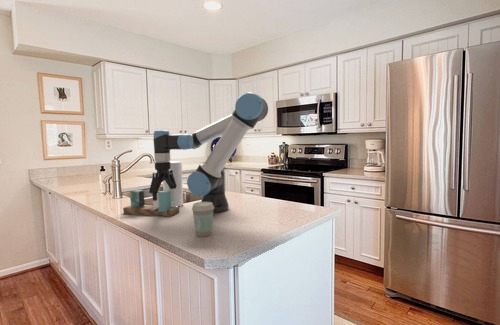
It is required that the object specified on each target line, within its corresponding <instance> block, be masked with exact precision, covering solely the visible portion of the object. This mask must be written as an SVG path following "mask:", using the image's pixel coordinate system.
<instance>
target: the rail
mask: <svg viewBox="0 0 500 325" xmlns="http://www.w3.org/2000/svg"><path fill="white" fill-rule="evenodd" d="M129 196H130V205H128V206H125V207H123V208H122V209H123V210H122V211H123V212H122V213H123V214H124V215H138V214H140V215H139V216H142V215H143V216H155V215H163V216H162V217H171V216H172V217H174V216H175V214H176V215H178V214H179V213H180V207H173V208H171V209H168V210H167V212H158V207H153V205H145V192H144V189H134V190H133V189H132V190H130V191H129ZM177 213H178V214H177ZM173 215H174V216H173Z"/></svg>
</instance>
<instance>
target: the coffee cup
mask: <svg viewBox="0 0 500 325" xmlns="http://www.w3.org/2000/svg"><path fill="white" fill-rule="evenodd" d="M213 209H214V206H213V203H212V202H201V201H199V202H193V204H192V206H191V210H192V215H193V222H194V228H195V234H196V236H197V237H202V238H203V237H210V236H211V235H212V232H213V219H214V213H213Z"/></svg>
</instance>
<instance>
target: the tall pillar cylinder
mask: <svg viewBox="0 0 500 325" xmlns="http://www.w3.org/2000/svg"><path fill="white" fill-rule="evenodd" d="M169 162H170V164H171V169H169V170H172V171H173V176H174V179H175V182H176V185H177V186H176V188H174V201H171V207H176V206H180V207H182V206H181V205H183V206H184V191H183V188H184V186H183V164H182V163H183V162H182V161H174V160H173V161H169ZM162 187H163V188H162V191H169V189H170V188H169V186H168V184H167V183H166V181H165V180H164V181H163V182H162Z"/></svg>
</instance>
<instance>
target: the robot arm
mask: <svg viewBox="0 0 500 325" xmlns="http://www.w3.org/2000/svg"><path fill="white" fill-rule="evenodd" d="M234 105H235V106H234V110H233V111H232V112H231V114H230V115H228V116H226V117H224V118H221V119H219V120H218V121H215V122H213V123H211V124H208V125H207V126H204V127H203V128H201V129H198V130H197V131H195V132H193V133H191V134H190V133H174V134H172V133H170V131H169V130H161V129H160V130H154V132H153V139H152V140H153V151H154V152H153V154H154V157H153V158H154V161H155V162H154V170H156V172H152V177H151V183H150V187H149V191H148V193H149V194H152V203H153V205H152V206H153V207H159V193H158V192H159V191H160V188H161V185H162V184H163V181H164V180H165V181H166V183H167V184H168V186H169V188H170V189H169V191H171V201H174V188H176V186H177V185H176V182H175V179H174V176H173V171H172V170H169V169H171V164H170V162H171V150H177V151H178V150H196V149H198V148H200V147H201V146H202V145H204V144H206V143H209V142H211V141H213V140H215V139H217V138H220V139H219V140H218V141H217V143H216V144H215V146H214V148H213V149H212V150H211V153H210V154H209V155H208V157H207V158H206V160H205V161H203V162H200V164H199V165H198V167H196V168H197V169H196V170H195V171H192V172H191V173H190V174H189V175H188V177H187V181H186V185H187V188H188V190H189V192H190V193H191V195H194V196H197V197H202V198H201V201H200V202H212V203H213V206H214V209H213V214H214V213H215V214H216V213H221V212H227V211H228V210H229V208H230V206H229V202H228V199H227V197H226V196H227V195H226V187H225V186H226V182H225V181H226V179H225V174H226V172H225V166H226V164H227V163H228V162H229V160H230V159H231V156H232V155H233V154H234V152H235V150H236V149H237V148H238V146H239V144H240V143H241V141H242V140H243V138H244V136H245V135H246V134H247V132H248V131H249V130H253V129H254V128H255V126H256V125H257V123H258V122H260V121H262V120H264V119H265V118H267V116H268V112H269V105H268V103H267V101H266V100H265V99H264V98H262V97H261V96H260V95H259V94H257V93H253V92H246V93H243V94H241V95H240V96H239V97H238V98H237V99H236V101H235V104H234Z"/></svg>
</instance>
